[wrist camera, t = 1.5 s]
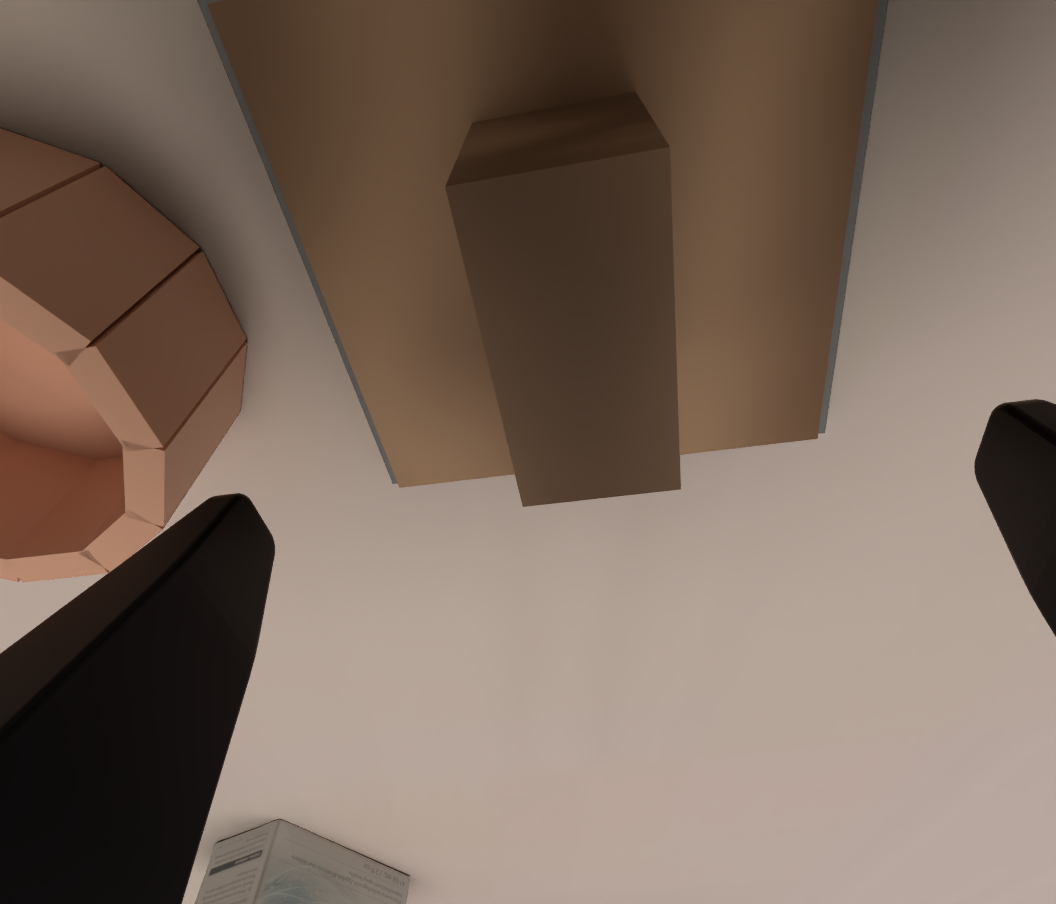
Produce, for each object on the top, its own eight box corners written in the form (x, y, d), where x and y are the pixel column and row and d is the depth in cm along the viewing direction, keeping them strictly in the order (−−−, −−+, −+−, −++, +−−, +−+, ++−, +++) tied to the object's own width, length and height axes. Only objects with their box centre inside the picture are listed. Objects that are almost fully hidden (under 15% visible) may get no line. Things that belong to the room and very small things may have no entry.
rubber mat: (899, -191, 10) (917, -197, 10) (817, 419, 17) (824, 432, 17) (200, -29, 12) (186, -29, 11) (396, 470, 19) (392, 483, 18)
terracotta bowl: (122, 89, 13) (-40, 145, 9) (297, 441, 18) (238, 559, 15) (-252, 168, 14) (-522, 244, 10) (20, 476, 19) (-97, 594, 16)
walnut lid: (876, -145, 10) (1077, -201, 6) (807, 420, 17) (883, 557, 13) (225, 0, 11) (66, 27, 8) (404, 468, 18) (367, 606, 14)
